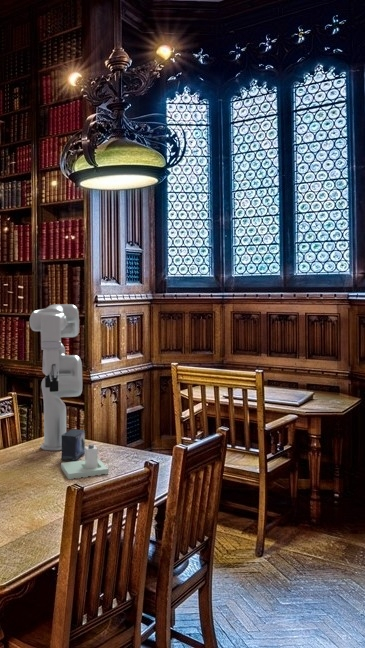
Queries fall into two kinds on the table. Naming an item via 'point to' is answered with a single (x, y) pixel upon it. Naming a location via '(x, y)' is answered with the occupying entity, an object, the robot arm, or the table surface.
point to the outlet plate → (82, 469)
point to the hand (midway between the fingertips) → (51, 389)
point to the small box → (73, 445)
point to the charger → (91, 457)
